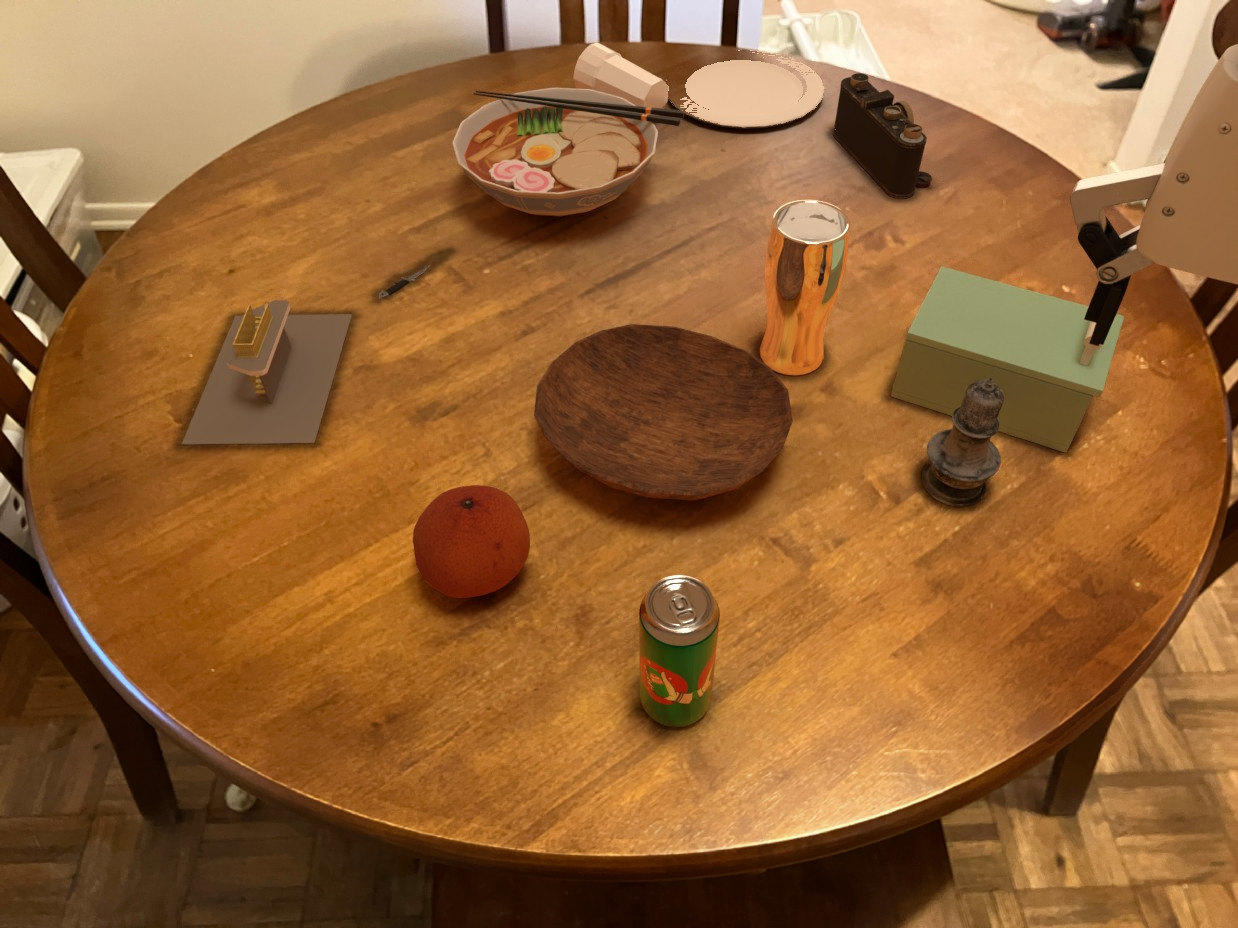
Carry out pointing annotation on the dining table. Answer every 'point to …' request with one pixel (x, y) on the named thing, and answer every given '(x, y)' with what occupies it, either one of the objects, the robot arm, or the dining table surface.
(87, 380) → the dining table surface
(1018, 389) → the box
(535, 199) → the ramen bowl
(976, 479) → the chess piece
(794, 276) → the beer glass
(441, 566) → the fruit
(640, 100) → the cup
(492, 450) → the dining table surface
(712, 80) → the plate
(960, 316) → the lunchbox lid
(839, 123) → the camera
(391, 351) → the dining table surface
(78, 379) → the dining table surface
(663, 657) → the soda can
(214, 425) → the platform
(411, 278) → the knife
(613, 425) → the bowl
